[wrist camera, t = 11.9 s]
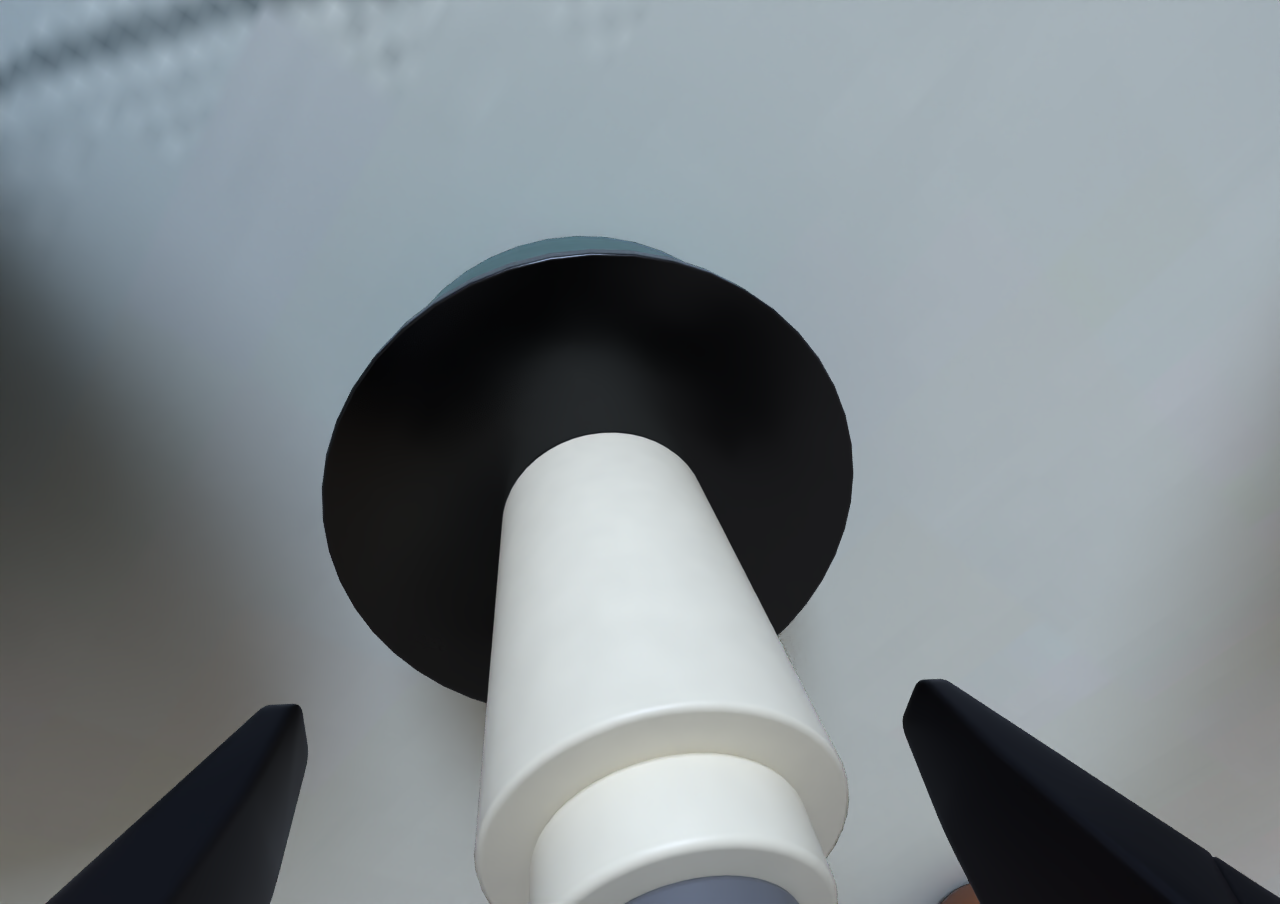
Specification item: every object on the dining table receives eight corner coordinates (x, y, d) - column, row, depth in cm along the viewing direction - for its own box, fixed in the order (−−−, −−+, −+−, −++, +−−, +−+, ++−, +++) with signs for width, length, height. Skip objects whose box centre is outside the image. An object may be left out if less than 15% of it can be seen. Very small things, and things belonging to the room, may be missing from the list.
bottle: (719, 435, 13) (1084, 975, 4) (689, 604, 15) (904, 1217, 6) (504, 426, 12) (437, 1070, 4) (500, 606, 14) (447, 1318, 5)
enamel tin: (820, 251, 16) (918, 283, 12) (741, 599, 21) (793, 707, 17) (358, 202, 14) (286, 218, 10) (386, 602, 19) (345, 727, 15)
